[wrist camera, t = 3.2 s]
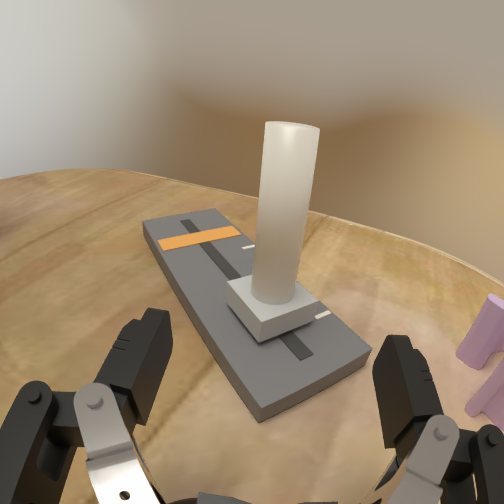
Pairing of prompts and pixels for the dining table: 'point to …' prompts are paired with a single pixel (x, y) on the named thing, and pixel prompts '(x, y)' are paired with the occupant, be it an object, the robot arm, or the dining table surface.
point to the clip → (476, 354)
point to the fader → (279, 235)
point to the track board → (232, 328)
